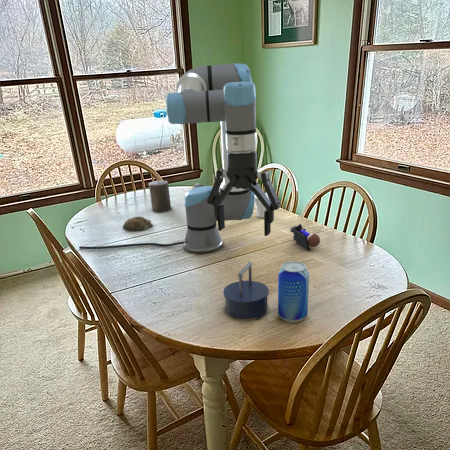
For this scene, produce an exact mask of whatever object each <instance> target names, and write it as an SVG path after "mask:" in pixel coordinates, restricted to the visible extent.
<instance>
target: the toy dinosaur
mask: <svg viewBox="0 0 450 450" xmlns="http://www.w3.org/2000/svg"><path fill="white" fill-rule="evenodd" d="M202 186H205V184H203V183H201V182H197V183H195V184H194V186H191V189H194V188H197V187H202Z"/></svg>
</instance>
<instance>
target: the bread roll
mask: <svg viewBox="0 0 450 450" xmlns="http://www.w3.org/2000/svg"><path fill="white" fill-rule="evenodd" d="M153 225H154V224H153V223H152V221H151V220H150V219H148V218H145V217H143V216H133V217H131V218H128V219H126V220H125V221H124V223H123V225H122V229H123V230H124V231H129V232H130V231H131V232H137V231H139V232H140V231H146V230H147V229H148V228H151V227H154V226H153Z"/></svg>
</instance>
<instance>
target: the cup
mask: <svg viewBox="0 0 450 450" xmlns="http://www.w3.org/2000/svg"><path fill="white" fill-rule="evenodd" d="M264 193H265V194H266V196H267V197H268V195H267V193H266V192H264ZM268 198H269V197H268ZM269 200H270V199H269ZM254 206H255V208H256V216H257V218H260V219H264V212H265V211H266V208H265V207H264V206H263V204H262V203H261V202H260V200H259V199H258V198H257V197H256V195H255V198H254Z"/></svg>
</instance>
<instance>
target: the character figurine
mask: <svg viewBox="0 0 450 450" xmlns="http://www.w3.org/2000/svg"><path fill="white" fill-rule="evenodd" d="M289 231H290V233H292V234H293V235H292V239H293V240H294V241H295V243H296V244H297V245H299V246H300V247H302V248H303V249H305V250H306V251H308V252H310V251H311V248H315V247H318V246H319V245H320V244H321V237H320V236H319V234H317V233H310V232H308V231H307V229H306V228H305V227H304V226H302V223H300V224H298V225H295V226H292V227H290V229H289Z"/></svg>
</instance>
